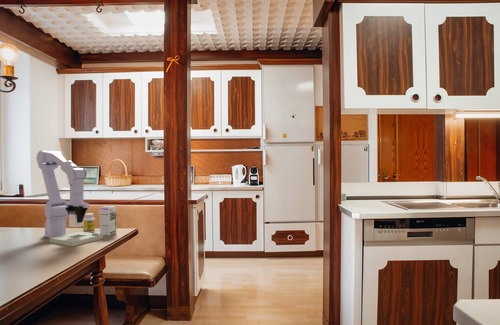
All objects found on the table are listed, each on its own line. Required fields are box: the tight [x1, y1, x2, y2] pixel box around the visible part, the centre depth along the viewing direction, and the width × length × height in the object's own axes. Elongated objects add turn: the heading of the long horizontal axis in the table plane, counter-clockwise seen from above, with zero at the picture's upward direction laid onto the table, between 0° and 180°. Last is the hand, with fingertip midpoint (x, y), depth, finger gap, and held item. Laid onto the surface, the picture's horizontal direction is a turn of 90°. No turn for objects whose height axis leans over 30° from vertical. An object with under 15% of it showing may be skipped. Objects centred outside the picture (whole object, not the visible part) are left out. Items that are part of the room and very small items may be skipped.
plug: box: [68, 211, 85, 228], centre depth 150 cm, size 4×4×7 cm
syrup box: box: [99, 205, 117, 236], centre depth 164 cm, size 6×6×14 cm
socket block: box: [49, 231, 104, 247], centre depth 150 cm, size 16×16×3 cm
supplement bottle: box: [82, 212, 96, 233], centre depth 168 cm, size 5×5×10 cm
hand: (76, 221), depth 150 cm, fingers closed on plug, 4 cm apart
